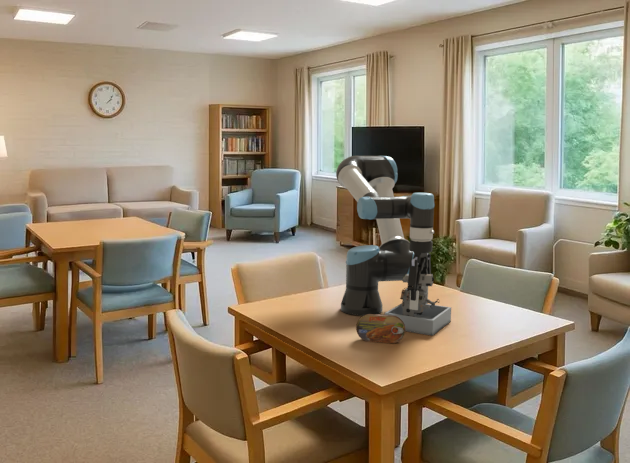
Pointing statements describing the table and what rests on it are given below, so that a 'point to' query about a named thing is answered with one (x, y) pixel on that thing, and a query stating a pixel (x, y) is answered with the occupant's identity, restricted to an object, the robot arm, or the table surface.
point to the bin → (424, 319)
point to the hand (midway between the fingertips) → (418, 306)
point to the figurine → (405, 296)
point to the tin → (380, 328)
